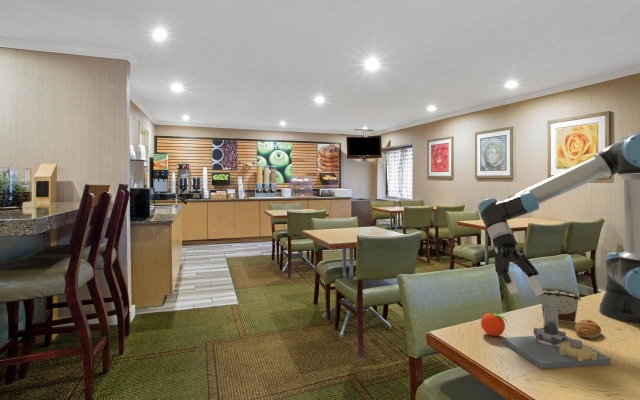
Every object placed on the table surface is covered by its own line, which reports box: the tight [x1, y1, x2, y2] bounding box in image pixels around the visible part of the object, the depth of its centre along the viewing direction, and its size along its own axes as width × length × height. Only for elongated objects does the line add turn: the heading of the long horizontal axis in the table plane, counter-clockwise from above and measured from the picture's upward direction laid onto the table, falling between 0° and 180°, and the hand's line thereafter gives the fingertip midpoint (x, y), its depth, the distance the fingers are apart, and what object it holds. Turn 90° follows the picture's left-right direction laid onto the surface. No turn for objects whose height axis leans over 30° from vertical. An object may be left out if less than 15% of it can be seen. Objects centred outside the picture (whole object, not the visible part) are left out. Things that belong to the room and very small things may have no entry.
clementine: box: [480, 312, 509, 337], centre depth 113 cm, size 8×7×7 cm
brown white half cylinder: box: [540, 287, 581, 324], centre depth 129 cm, size 12×6×10 cm, turn 58°
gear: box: [533, 304, 570, 345], centre depth 106 cm, size 9×8×10 cm
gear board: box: [502, 334, 612, 370], centre depth 101 cm, size 20×18×5 cm
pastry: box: [574, 319, 602, 340], centre depth 114 cm, size 9×7×4 cm
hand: (527, 293), depth 119 cm, fingers open, 13 cm apart
